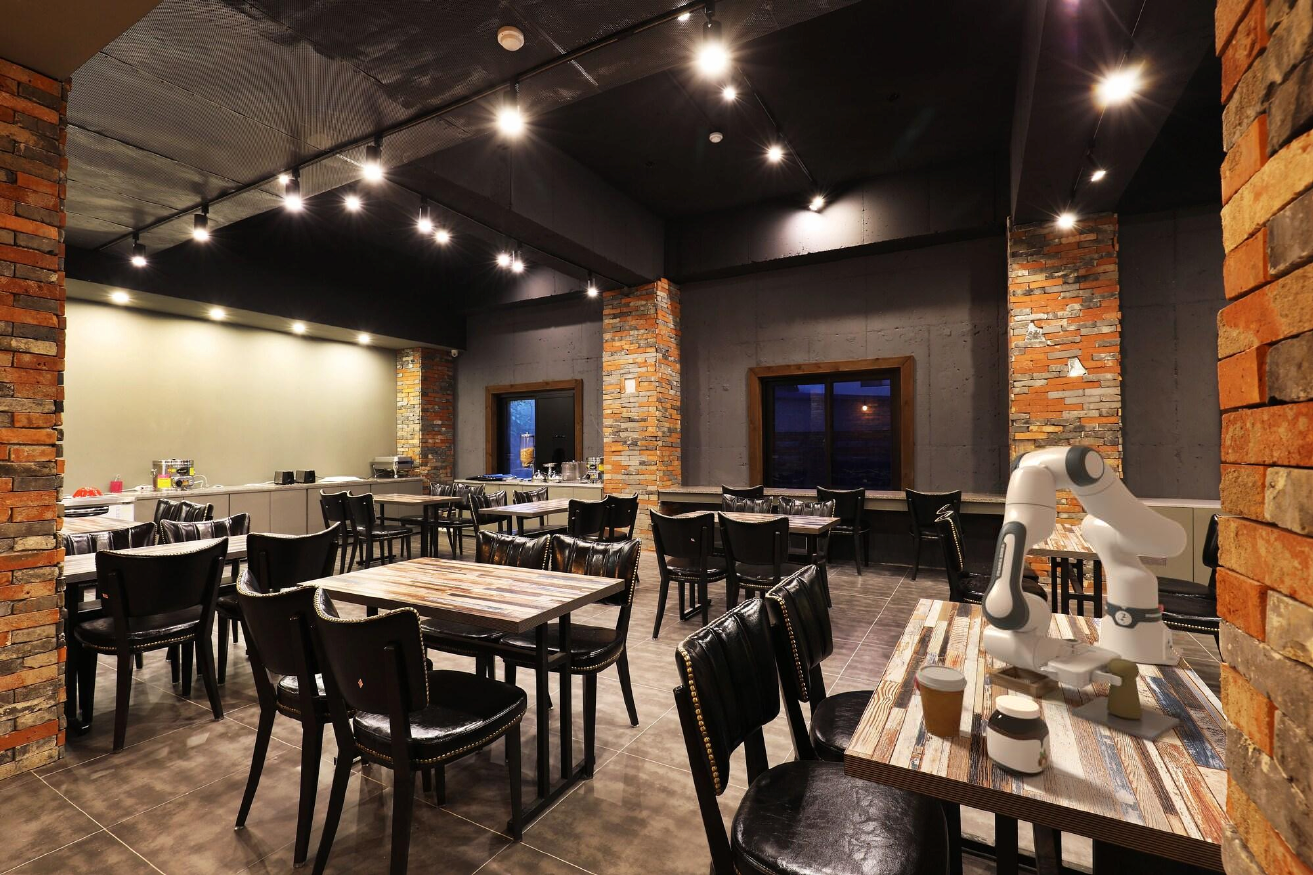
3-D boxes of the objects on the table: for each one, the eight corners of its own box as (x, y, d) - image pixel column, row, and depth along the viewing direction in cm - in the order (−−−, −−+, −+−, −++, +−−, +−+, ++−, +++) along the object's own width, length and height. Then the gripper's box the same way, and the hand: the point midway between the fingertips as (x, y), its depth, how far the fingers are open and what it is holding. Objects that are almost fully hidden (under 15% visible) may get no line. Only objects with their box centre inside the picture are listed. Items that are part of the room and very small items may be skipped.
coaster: (1101, 699, 136) (1101, 695, 136) (1179, 723, 125) (1179, 719, 125) (1072, 714, 129) (1072, 710, 129) (1151, 741, 117) (1151, 737, 117)
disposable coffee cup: (966, 746, 116) (964, 684, 116) (913, 734, 121) (912, 675, 121) (970, 727, 124) (969, 669, 124) (920, 716, 129) (919, 660, 129)
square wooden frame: (1012, 673, 153) (1012, 663, 153) (1058, 687, 143) (1058, 677, 143) (989, 682, 147) (988, 672, 147) (1035, 697, 138) (1035, 687, 138)
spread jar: (1020, 784, 103) (1018, 716, 103) (963, 753, 113) (962, 692, 114) (1064, 768, 108) (1063, 704, 108) (1006, 740, 118) (1005, 681, 118)
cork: (1149, 719, 123) (1147, 666, 123) (1115, 717, 124) (1114, 664, 125) (1132, 707, 129) (1131, 656, 129) (1100, 704, 130) (1099, 654, 131)
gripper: (1033, 653, 132) (1106, 673, 121) (1077, 637, 143) (1147, 653, 132) (1034, 682, 132) (1106, 704, 121) (1077, 663, 143) (1148, 682, 131)
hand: (1128, 678), depth 126 cm, fingers open, 5 cm apart
